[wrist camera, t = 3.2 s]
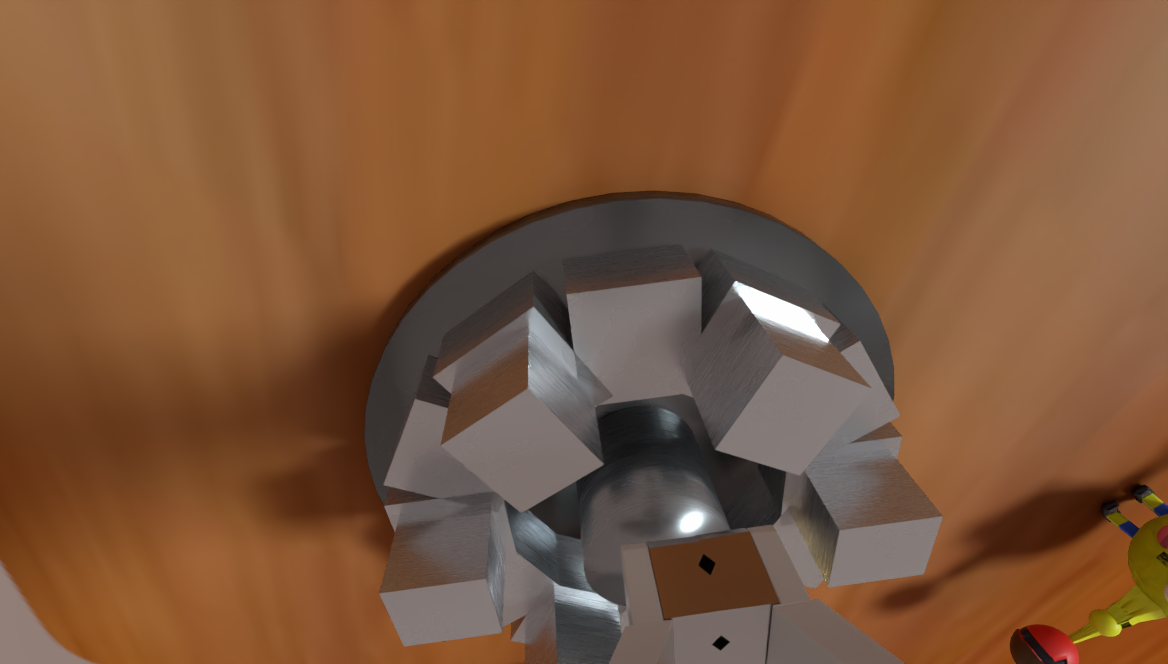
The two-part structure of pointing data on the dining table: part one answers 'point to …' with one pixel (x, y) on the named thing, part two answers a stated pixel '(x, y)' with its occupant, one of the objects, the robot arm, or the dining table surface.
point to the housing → (633, 428)
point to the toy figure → (1163, 589)
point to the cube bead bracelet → (573, 449)
